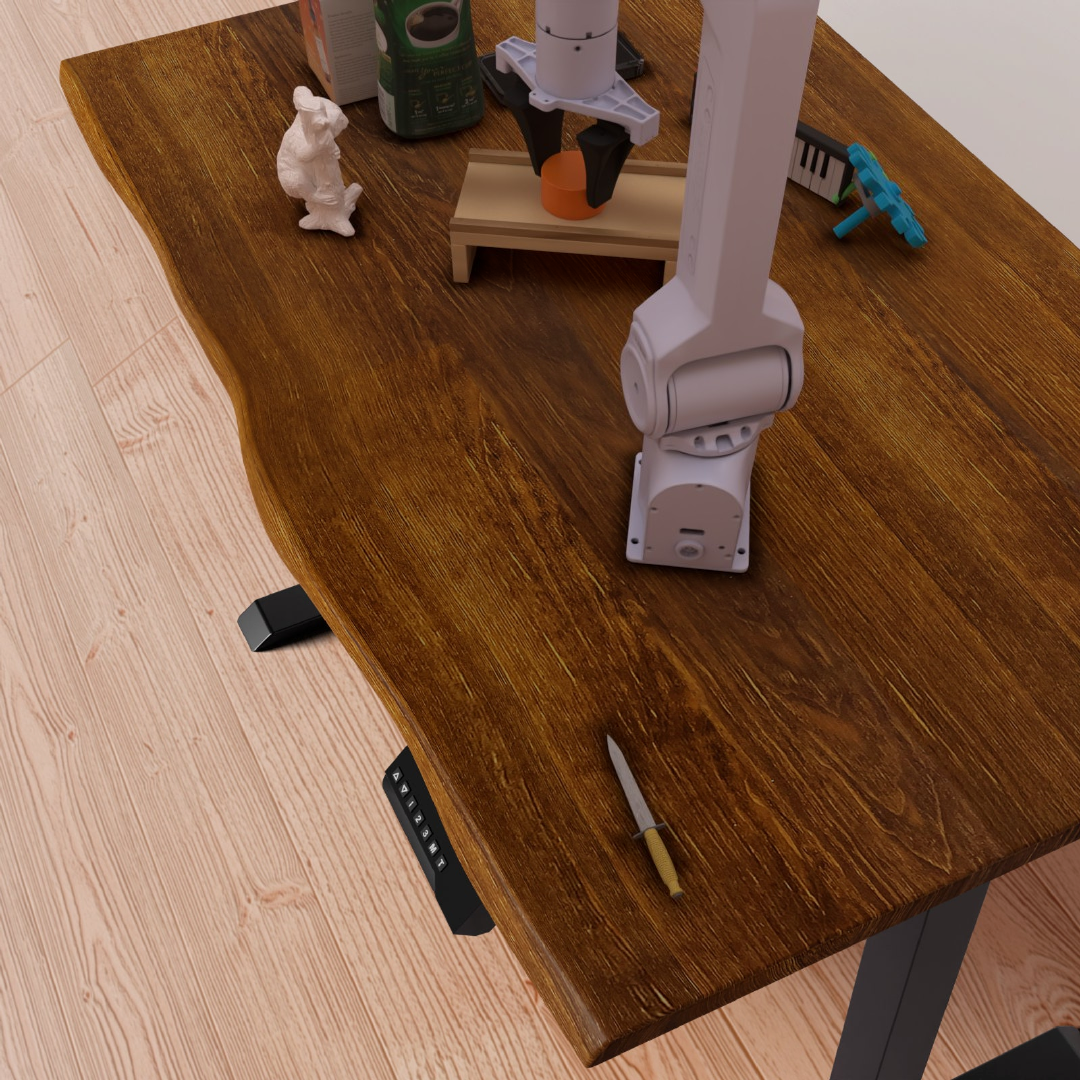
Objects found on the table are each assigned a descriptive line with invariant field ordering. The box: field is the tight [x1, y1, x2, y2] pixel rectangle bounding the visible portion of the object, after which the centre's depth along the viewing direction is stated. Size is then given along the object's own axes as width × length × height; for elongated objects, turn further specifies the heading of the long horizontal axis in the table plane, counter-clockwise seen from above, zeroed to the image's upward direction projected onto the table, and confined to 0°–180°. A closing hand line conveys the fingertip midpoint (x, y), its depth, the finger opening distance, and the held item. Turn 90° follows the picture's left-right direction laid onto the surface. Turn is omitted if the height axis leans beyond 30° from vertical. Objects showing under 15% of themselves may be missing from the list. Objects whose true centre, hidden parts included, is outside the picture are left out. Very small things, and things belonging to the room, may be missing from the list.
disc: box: [541, 150, 606, 220], centre depth 91 cm, size 5×5×3 cm
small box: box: [297, 0, 378, 107], centre depth 108 cm, size 8×6×10 cm
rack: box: [448, 147, 688, 287], centre depth 94 cm, size 10×18×6 cm, turn 83°
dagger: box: [606, 733, 684, 900], centre depth 65 cm, size 11×1×2 cm
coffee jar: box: [373, 0, 486, 140], centre depth 101 cm, size 10×8×19 cm
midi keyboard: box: [688, 71, 856, 208], centre depth 102 cm, size 18×1×5 cm, turn 43°
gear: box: [831, 141, 929, 249], centre depth 96 cm, size 11×6×10 cm
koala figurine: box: [276, 85, 364, 237], centre depth 94 cm, size 8×7×12 cm
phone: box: [478, 28, 645, 107], centre depth 112 cm, size 8×1×15 cm
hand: (572, 185), depth 91 cm, fingers closed on disc, 5 cm apart
